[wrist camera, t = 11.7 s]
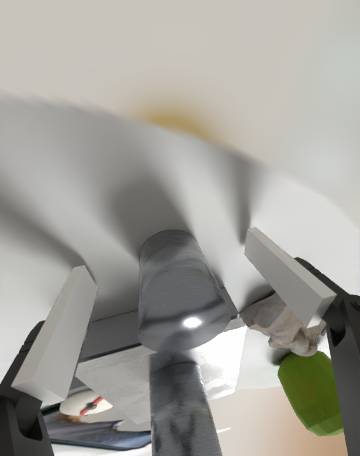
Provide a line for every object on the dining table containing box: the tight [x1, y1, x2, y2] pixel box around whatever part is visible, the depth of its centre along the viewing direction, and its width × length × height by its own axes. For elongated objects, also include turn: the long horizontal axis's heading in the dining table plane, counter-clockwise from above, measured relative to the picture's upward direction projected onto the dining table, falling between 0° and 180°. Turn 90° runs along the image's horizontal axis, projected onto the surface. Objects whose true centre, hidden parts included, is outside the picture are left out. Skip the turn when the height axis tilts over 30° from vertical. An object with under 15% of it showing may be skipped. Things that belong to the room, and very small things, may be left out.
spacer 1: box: [138, 230, 231, 353], centre depth 11 cm, size 5×5×6 cm
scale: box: [60, 288, 239, 416], centre depth 19 cm, size 20×18×4 cm
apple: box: [278, 351, 344, 436], centre depth 29 cm, size 11×11×11 cm
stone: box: [239, 293, 327, 356], centre depth 21 cm, size 15×10×4 cm, turn 41°
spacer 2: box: [149, 362, 222, 456], centre depth 13 cm, size 5×5×6 cm
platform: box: [75, 318, 246, 425], centre depth 18 cm, size 14×18×1 cm
